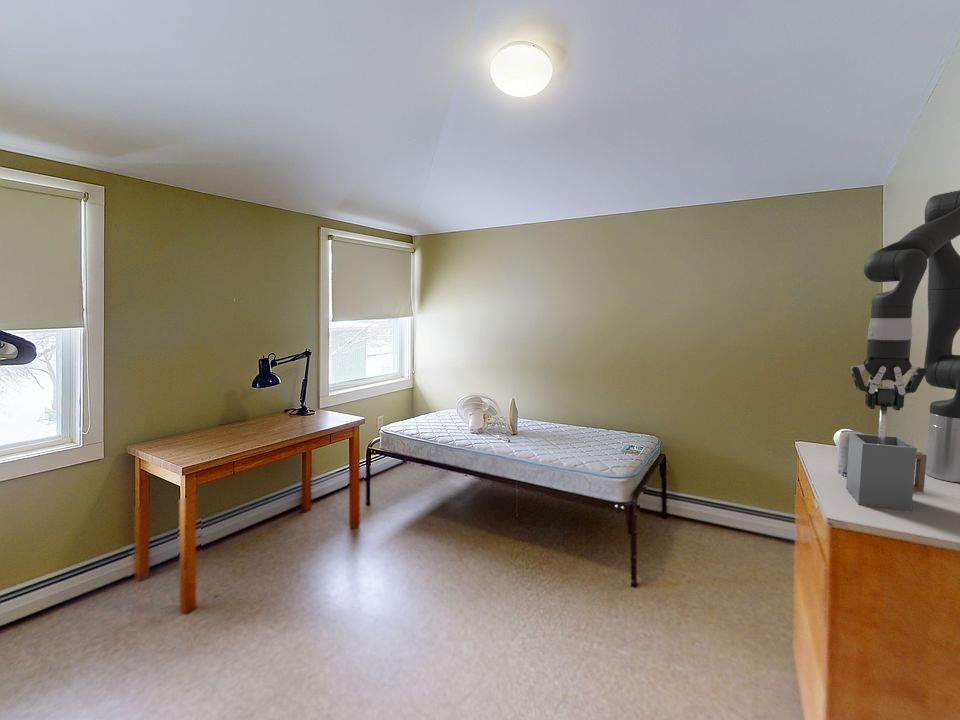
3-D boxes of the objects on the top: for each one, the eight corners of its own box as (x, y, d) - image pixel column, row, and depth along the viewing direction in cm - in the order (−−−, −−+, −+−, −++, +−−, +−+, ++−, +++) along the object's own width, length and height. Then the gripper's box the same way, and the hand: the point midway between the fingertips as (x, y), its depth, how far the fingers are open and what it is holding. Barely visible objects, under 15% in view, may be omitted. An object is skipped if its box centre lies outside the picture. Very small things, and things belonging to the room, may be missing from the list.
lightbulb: (848, 461, 133) (851, 426, 132) (864, 469, 127) (866, 432, 126) (827, 461, 134) (829, 426, 133) (841, 469, 128) (843, 432, 127)
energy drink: (866, 478, 121) (869, 436, 119) (844, 477, 122) (847, 435, 120) (854, 471, 126) (857, 430, 124) (833, 470, 127) (835, 430, 126)
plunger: (891, 469, 109) (898, 386, 107) (903, 479, 103) (911, 391, 100) (855, 466, 112) (861, 385, 110) (865, 475, 106) (871, 390, 103)
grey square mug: (911, 496, 109) (916, 437, 107) (930, 513, 100) (935, 449, 99) (846, 489, 115) (849, 432, 113) (858, 504, 106) (862, 443, 104)
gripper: (922, 336, 104) (915, 407, 106) (845, 336, 110) (841, 403, 112) (937, 338, 97) (930, 415, 99) (855, 338, 103) (850, 410, 105)
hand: (883, 408), depth 105 cm, fingers closed on plunger, 4 cm apart
